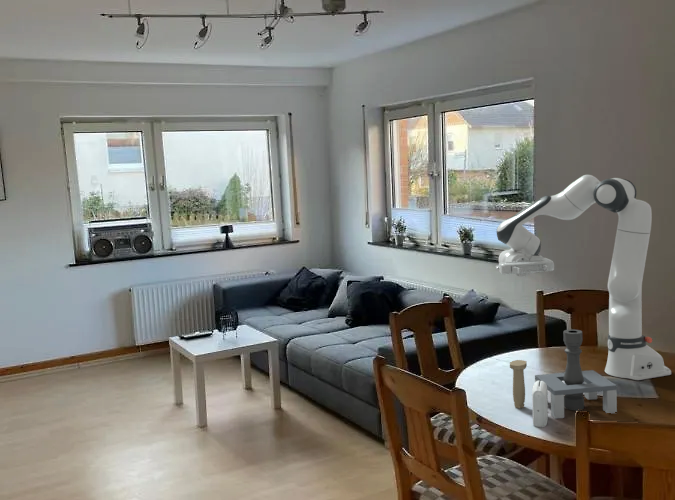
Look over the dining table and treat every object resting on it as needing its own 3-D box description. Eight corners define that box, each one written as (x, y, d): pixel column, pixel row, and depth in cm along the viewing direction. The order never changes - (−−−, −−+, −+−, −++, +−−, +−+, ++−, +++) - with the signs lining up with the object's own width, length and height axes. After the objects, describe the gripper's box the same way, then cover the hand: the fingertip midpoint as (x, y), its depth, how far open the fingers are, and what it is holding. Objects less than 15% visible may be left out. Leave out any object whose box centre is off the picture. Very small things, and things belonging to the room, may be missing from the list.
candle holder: (587, 409, 213) (586, 333, 210) (568, 410, 213) (566, 334, 210) (579, 402, 220) (578, 328, 217) (561, 404, 220) (559, 329, 216)
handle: (530, 405, 220) (529, 361, 218) (521, 411, 215) (520, 366, 213) (516, 402, 223) (515, 359, 221) (508, 408, 218) (506, 364, 216)
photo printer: (547, 428, 201) (546, 388, 200) (532, 427, 203) (531, 387, 201) (548, 415, 211) (547, 377, 209) (534, 414, 212) (533, 376, 211)
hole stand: (593, 395, 225) (592, 370, 224) (616, 413, 209) (616, 385, 208) (535, 401, 224) (534, 375, 223) (554, 418, 208) (554, 390, 207)
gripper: (493, 258, 257) (505, 263, 243) (545, 254, 258) (559, 259, 245) (493, 274, 258) (505, 280, 244) (545, 270, 259) (560, 276, 245)
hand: (533, 269), depth 244 cm, fingers open, 8 cm apart
